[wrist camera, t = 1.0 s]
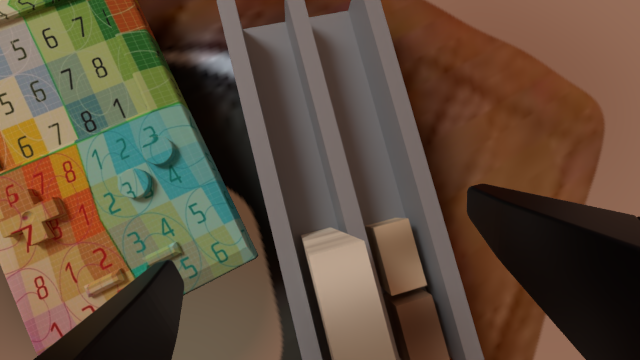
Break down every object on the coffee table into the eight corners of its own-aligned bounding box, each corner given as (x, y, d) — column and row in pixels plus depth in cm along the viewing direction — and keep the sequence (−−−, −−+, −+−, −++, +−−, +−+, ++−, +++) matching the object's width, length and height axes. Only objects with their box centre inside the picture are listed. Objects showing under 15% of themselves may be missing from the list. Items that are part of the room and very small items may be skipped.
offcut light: (411, 276, 19) (427, 285, 17) (380, 286, 19) (391, 296, 17) (395, 217, 19) (408, 218, 17) (364, 226, 19) (373, 227, 17)
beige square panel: (366, 367, 18) (436, 515, 9) (336, 377, 18) (378, 538, 9) (330, 227, 19) (364, 240, 10) (300, 235, 19) (308, 255, 10)
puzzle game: (30, 375, 14) (-119, 18, 15) (95, 334, 19) (-23, 63, 20) (253, 261, 16) (103, -56, 17) (262, 249, 20) (144, 2, 21)
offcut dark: (430, 345, 19) (451, 366, 16) (399, 356, 19) (415, 378, 16) (413, 284, 19) (431, 295, 17) (382, 293, 19) (396, 306, 16)
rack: (450, 334, 20) (493, 368, 16) (312, 379, 19) (319, 429, 15) (361, 20, 22) (378, -27, 18) (232, 44, 21) (216, 0, 17)
